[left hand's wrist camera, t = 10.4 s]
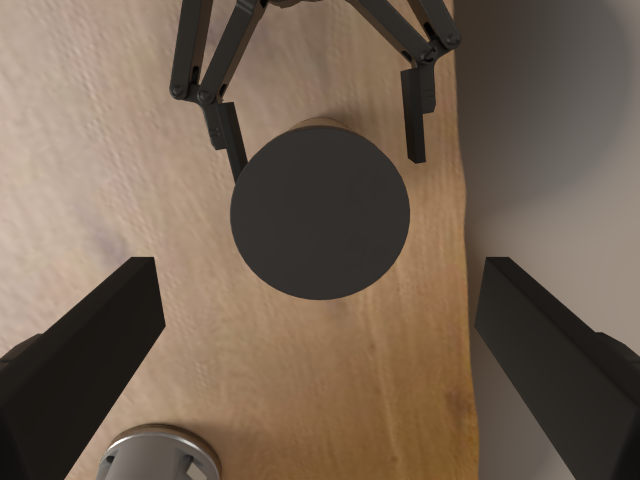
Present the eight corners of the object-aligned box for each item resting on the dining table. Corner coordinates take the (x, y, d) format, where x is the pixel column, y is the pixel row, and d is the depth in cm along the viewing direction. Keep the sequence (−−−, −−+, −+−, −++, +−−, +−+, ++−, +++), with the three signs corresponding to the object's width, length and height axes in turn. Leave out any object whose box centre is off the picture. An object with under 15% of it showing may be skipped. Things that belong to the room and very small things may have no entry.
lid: (208, 165, 22) (196, 173, 20) (369, 95, 20) (374, 96, 18) (279, 303, 25) (276, 322, 23) (422, 251, 23) (432, 266, 21)
